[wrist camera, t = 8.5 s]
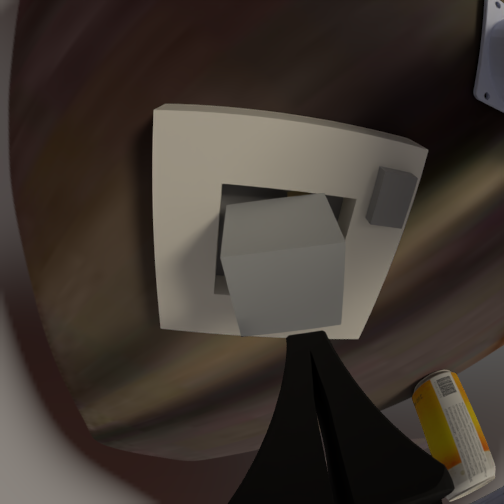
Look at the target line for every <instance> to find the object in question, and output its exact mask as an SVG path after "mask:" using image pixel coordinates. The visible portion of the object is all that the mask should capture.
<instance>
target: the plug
mask: <svg viewBox="0 0 504 504" xmlns="http://www.w3.org/2000/svg"><path fill="white" fill-rule="evenodd" d="M345 245H346V242H345V239H344V237H343V235H342V232H341V230H340V228H339V225H338V223H337V221H336V218H335V216H334V214H333V212H332V209H331V207H330V205H329V203H328V200H327V198H326V196H325V194H324V193H318V194H310V193H308V192H300V191H290V192H287V197H284V198H276V199H268V200H260V201H252V202H245V203H237V204H230V205H226V213H225V221H224V230H223V238H222V247H221V256H220V258H221V262H222V266H223V270H224V274H225V278H226V281H227V285H228V289H229V293H230V297H231V300H232V304H233V308H234V312H235V315H236V319H237V323H238V326H239V330H240V334H241V337H243V336H253V335H263V334H273V333H282V332H290V331H298V330H306V329H314V328H321V327H328V326H335V325H341V320H342V307H343V291H344V272H345Z"/></svg>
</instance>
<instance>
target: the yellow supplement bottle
mask: <svg viewBox="0 0 504 504" xmlns="http://www.w3.org/2000/svg"><path fill="white" fill-rule="evenodd" d="M412 400H413V403H414V405H415V408H416V411H417V414H418V417H419V419H420V423H421V425H422V428H423V431H424V434H425V437H426V440H427V443H428V446H429V449H430V453H431V456H432V457H433V458H435V459H436V460H438V461H439V462H441V463H442V464H444V465H445V466H446V468H447V470H448V472H449V474H450V476H451V478H452V480H453V483H454V487H455V489H454V491H453V492H452V493H450V494H449V495H447V496H446V498H447V499H448V500H449V502H450V501H454V500H456V499H458V498H461V497H463V496H465V495H467V494H469V493H471V492H473V491H475V490H477V489H479V488H481V487H483V486H484V485H486V484H487V483H489V482H491V481H492V480H493V479H495V476H494V475H495V469H496V467H495V464H494V461H493V458H492V456H491V453H490V450H489V448H488V445H487V443H486V440H485V437H484V435H483V433H482V430H481V428H480V425H479V423H478V420H477V418H476V416H475V413H474V411H473V409H472V407H471V404H470V402H469V400H468V398H467V395H466V393H465V391H464V389H463V387H462V385H461V383H460V380H459V378H458V376H457V374H456V373H454V372H450V371H449V370H439V371H436V372H434V373H432V374H430V375H428V376H426V377H425V378H424V379H422V380H421V381H420V382H419V383H418V384H417V385H416V387H415V389H414V393H413V396H412Z"/></svg>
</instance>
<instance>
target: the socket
mask: <svg viewBox="0 0 504 504" xmlns="http://www.w3.org/2000/svg"><path fill="white" fill-rule="evenodd" d="M427 154H428V149H426V148H424V147H423V146H421V145H419V144H418V143H416V142H414V141H412V140H410V139H409V138H405V137H402V136H398V135H394V134H390V133H386V132H382V131H377V130H373V129H369V128H364V127H360V126H355V125H350V124H345V123H340V122H335V121H330V120H324V119H318V118H313V117H306V116H300V115H293V114H287V113H279V112H272V111H263V110H255V109H245V108H234V107H222V106H208V105H190V104H164V105H162V106H160V107H158V108H157V109H155V110H154V116H153V152H152V193H153V230H154V252H155V268H156V283H157V295H158V307H159V317H160V327H161V329H170V330H179V331H190V332H201V333H213V334H226V335H241V334H240V330H239V326H238V323H237V319H236V315H235V312H234V308H233V304H232V300H231V297H230V293H229V289H228V285H227V281H226V278H225V274H224V270H223V266H222V262H221V258H220V256H221V247H222V238H223V230H224V221H225V213H226V205H230V204H237V203H245V202H252V201H260V200H268V199H276V198H284V197H287V192H290V191H300V192H308V193H310V194H318V193H324V194H325V196H326V198H327V200H328V203H329V205H330V207H331V209H332V212H333V214H334V216H335V218H336V221H337V223H338V225H339V228H340V230H341V232H342V235H343V237H344V239H345V242H346V245H345V272H344V291H343V307H342V320H341V325H335V326H328V327H321V328H314V329H306V330H298V331H290V332H282V333H273V334H263V335H253V336H258V337H279V338H286V337H288V336H289V335H294V334H301V333H308V332H315V331H321V330H323V331H325V332H326V334H327V336H328V338H329V339H359V337H360V335H361V332H362V330H363V328H364V326H365V324H366V322H367V320H368V317H369V315H370V313H371V311H372V308H373V306H374V304H375V302H376V299H377V297H378V295H379V292H380V290H381V288H382V285H383V283H384V280H385V278H386V275H387V273H388V270H389V268H390V265H391V263H392V260H393V258H394V255H395V252H396V250H397V247H398V244H399V242H400V239H401V236H402V233H403V231H404V228H405V225H406V222H407V219H408V216H409V213H410V210H411V207H412V204H413V201H414V198H415V195H416V192H417V188H418V185H419V182H420V178H421V175H422V172H423V168H424V165H425V161H426V157H427Z"/></svg>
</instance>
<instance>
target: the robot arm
mask: <svg viewBox="0 0 504 504" xmlns="http://www.w3.org/2000/svg"><path fill="white" fill-rule="evenodd" d="M495 3H496V4H495ZM496 5H497V7H496ZM473 93H474V96H475V98H476V99H477V100H479V101H481V102H483V103H485V104H487V105H489V106H491V107H493V108H495V109H497V110H499V111H501V112H503V113H504V3H503V2H501V1H500V0H484V14H483V27H482V37H481V45H480V53H479V61H478V67H477V73H476V79H475V85H474V91H473ZM485 93H486V98H485V97H484V95H485ZM286 342H287V353H286V363H285V370H284V375H283V380H282V385H281V390H280V393H279V397H278V401H277V404H276V408H275V411H274V414H273V417H272V420H271V423H270V425H269V428H268V430H267V433H266V435H265V438H264V440H263V442H262V445H261V447H260V449H259V451H258V453H257V456H256V457H255V459H254V461H253V463H252V465H251V467H250V469H249V470H248V472H247V474H246V476H245V478H244V479H243V481H242V483H241V484H240V486H239V488H238V489H237V491H236V492H235V494H234V495H233V497H232V498H231V500H230V501H229V503H228V504H442V500H441V499H442V498H444V497H446V496H447V495H449V494H450V493H452V492H453V491H454V489H455V487H454V483H453V480H452V478H451V476H450V474H449V472H448V470H447V468H446V466H445V465H444V464H442V463H441V462H439V461H438V460H436V459H435V458H433V457H432V456H431V455H429V454H428V453H426V452H425V451H424V450H422V449H421V448H420V447H419V446H417V445H416V444H415V443H413V442H412V441H411V440H410V439H409V438H408V437H406V436H405V435H404V434H403V433H402V432H401V431H400V430H399V429H398V428H396V427H395V426H394V425H393V424H392V423H391V422H390V421H389V420H388V419H387V418H386V417H385V416H384V415H383V414H382V413H381V412H380V411H379V409H378V408H377V407H376V406H375V405H374V404H373V403H372V402H371V400H370V399H369V398H368V397H367V396H366V394H365V393H364V392H363V391H362V389H361V388H360V387H359V386H358V384H357V383H356V381H355V380H354V379H353V377H352V376H351V374H350V373H349V372H348V370H347V369H346V367H345V366H344V364H343V363H342V361H341V360H340V358H339V356H338V355H337V353H336V351H335V350H334V348H333V346H332V344H331V342H330V340H329V338H328V336H327V334H326V332H325V331H323V330H321V331H315V332H308V333H301V334H294V335H289V336H288V337H286ZM316 414H317V415H316ZM317 418H318V420H317ZM318 421H319V425H320V429H321V433H322V437H323V442H324V446H325V452H326V460H327V466H326V461H325V456H324V451H323V447H322V441H321V436H320V431H319V426H318ZM327 468H328V471H327ZM470 504H504V486H503V487H501V488H499V489H497V490H496V491H494V492H492V493H490V494H488V495H487V496H484V497H482V498H480V499H478V500H476V501H474V502H472V503H470Z"/></svg>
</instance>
